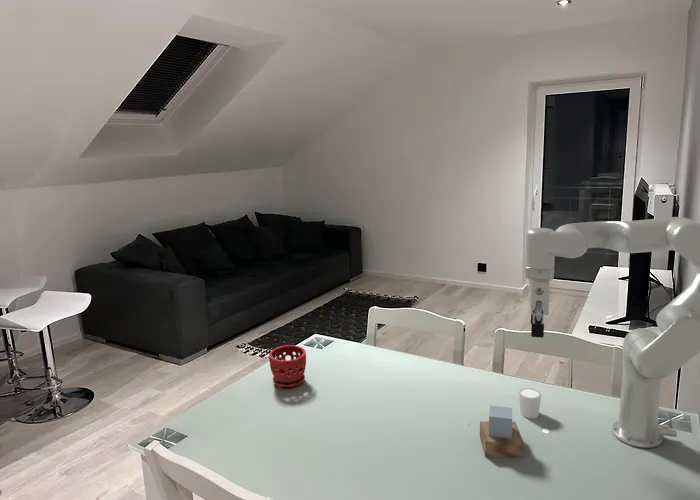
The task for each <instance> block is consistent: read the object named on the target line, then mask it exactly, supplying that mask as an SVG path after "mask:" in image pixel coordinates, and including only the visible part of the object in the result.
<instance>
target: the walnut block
mask: <svg viewBox="0 0 700 500" xmlns="http://www.w3.org/2000/svg"><path fill="white" fill-rule="evenodd" d="M479 437H480V443H481V447H482V450H483V454H484V457H485V458H513V459H515V458H516V459H517V458H521V459H523V458H524V440H523V438H522V435H521V433H520V430H519V427H518V424H517V423H516V421H512V439H508V438H500V437H492V436H489V420H488V421H486V420H485V421H484V420H483V421H479Z"/></svg>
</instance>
